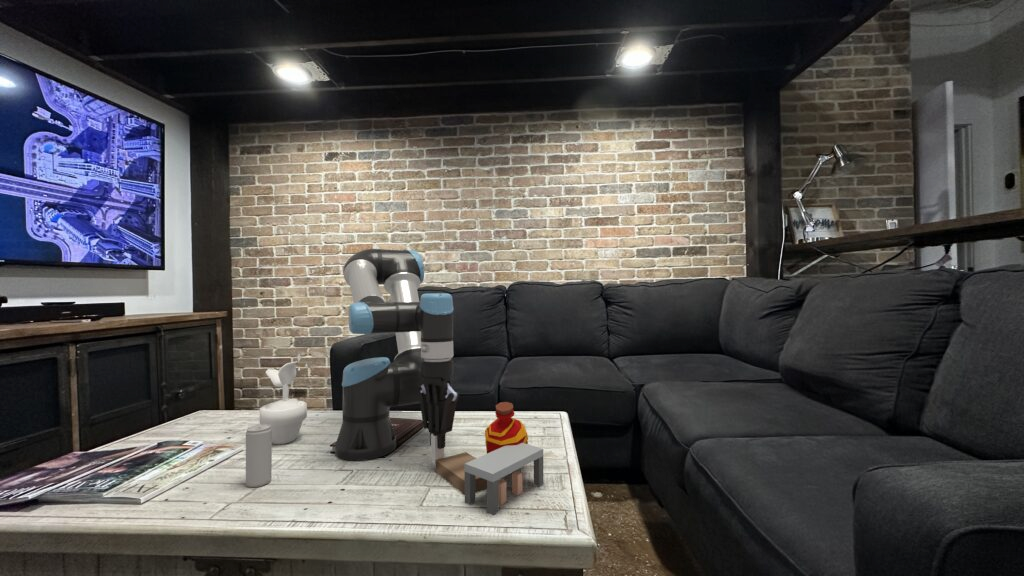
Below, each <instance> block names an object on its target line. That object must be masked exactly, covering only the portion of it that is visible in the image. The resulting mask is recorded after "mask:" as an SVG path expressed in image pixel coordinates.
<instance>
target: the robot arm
mask: <svg viewBox="0 0 1024 576" xmlns="http://www.w3.org/2000/svg"><path fill="white" fill-rule="evenodd" d="M342 271H343V272H342V274H343V278H344V281H345V283H346V284H347V285H348V286H349V287H350V289H349V290H350V292H351V296H352V301H353V303H351V304H350V305H349V307H348V329H349V332H350V333H351V334H354V335H364V336H365V335H367V336H368V335H371V334H373V335H375V334H390V333H391V334H392V333H393V334H394V333H395V338H396V346H397V352H398V353H397V354H396V355H395V357H394V359H393V362H391V360H390V358H388V357H385V356H382V357H372V358H366V359H362V360H357V361H354V362H352V363H349V364H347V365H346V366H345V367H344V369H343V371H342V382H341V386H342V424H341V425H340V429H339V433H338V435H337V438H336V441H335V446H334V449H335V450H334V454H335V456H336V457H337V458H339V459H341V460H345V461H365V460H366V461H367V460H373V459H378V458H382V457H384V456H386V455H389V454H391V453H393V451H395V449H396V448H397V436H396V434H395V430H394V428H393V427H394V426H393V424H392V422H391V418H390V408H392V407H402V406H409V405H418V404H419V405H420V407H419V408H420V412H421V418H422V419H421V420H422V424H423V425H422V426H423V428H424V429H427V430H428V433H429V445H430V453H431V454H430V463H432V464H434V465H436V460H437V459H441V458H445V448H446V434H447V433H450V432H452V431H453V427H454V420H455V414H456V413H455V412H456V407H457V403H458V400H459V398H460V392H459V391H455V390H454V389H453V383H452V381H451V378H452V376H453V375H454V360H453V357H454V355H455V354H454V302H453V296H452V294H450V293H442V292H441V293H439V292H438V293H423V294H422V295H421V296H420V298H419V293H418V289H419V288H420V286H421V284H422V283H423V282H424V278H425V270H424V262H423V259H422V256H421V255H420V253H419V252H418V251H415V250H408V249H387V248H386V249H384V248H383V249H382V248H379V249H378V248H369V249H368V248H367V249H363V250H359V251H358V252H356V253H355V254H354V253H353V255H352V256H350V257H349V258H348V259H347V261H345V264H344V266H343V270H342ZM380 285H383V288H384V290H385V292H386V293H388V295H389V294H390V295H389V297H390V301H388V302H387V301H386V300H385V298H384V295H383V293H382V292H383V291H382V290H381V287H380Z"/></svg>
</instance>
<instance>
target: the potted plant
mask: <svg viewBox="0 0 1024 576" xmlns="http://www.w3.org/2000/svg"><path fill="white" fill-rule="evenodd" d="M295 357H296V359H297V360H296V361H292V362H287V363H285V364H284V365H282V366H281V367H280V368H279V369H274V368H267V370H266V371H265V373H264V374H266V376H267V377H268V378H269V379H270V381H271V383H272V384H273V386H275V387H277V388H281V387H282V388H281V389H282V398H281V399H280V398H279V399H278V400H276V401H273V402H271V403H270V402H269V403H267V404H264V405H262V406H261V407H260V408H259V425H260V424H269V425H271V427H270V428H271V429H272V445H286V444H289V443H292V442H294V441H295V440H296V439H297V438H298V435H299V434H300V430H301V428H302V424H303V422H304V421H305V420H306V419H307V417H308V413H307V412H308V407H307V406H308V403H307V402H305V401H304V400H298V398H289V395H290V393H289V392H290V387H289V385H291V384H293V382H294V381H295V379H296V377H297V374H298V373H297V371H298V372H300V370H302V369H301V367H300V366H298V368H296V364H297V363H300V360H301V359H303V357H302V356H301V354H300V352H298V355H296V356H295ZM304 367H305V369H307V368H308V367H309V365H308V364H307V362H306V364H305V365H304Z"/></svg>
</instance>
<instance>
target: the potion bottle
mask: <svg viewBox="0 0 1024 576" xmlns="http://www.w3.org/2000/svg"><path fill="white" fill-rule="evenodd" d="M495 409H496V410H495V417H496V419H495V420H493V421H492V422H491V423H490V424H489V425H488V427H485V430H484V437H485V439H484V440H485V442H484V443H485V446H486V447H485V448H486V450H485V451H486V454H488V453H490V452H492V451H494V450H497V449H499V448H501V447H503V446H507V445H518V444H520V443H525V444H528V442H529V435H528V432H527V429H526V426H525V424H524V423H523V422H522V421H521V420H519V419H516V418H513V417H514V416H515V411H514V405H513V403H512V402H508V401H502V402H499V403H498V404H496V405H495ZM528 445H529V444H528Z"/></svg>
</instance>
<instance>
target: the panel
mask: <svg viewBox="0 0 1024 576" xmlns="http://www.w3.org/2000/svg"><path fill="white" fill-rule="evenodd" d="M474 459H476V457H475V456H473V455H472V454H470V453H468V452H467V451H465V452H462V453H457V454H454V455H449V456H446V457H445V456H444V458H441V459H437V460H436V464H435V473H436V474H437V475H439V476H440V477H441V478H442V479H444V480H445V481H447V483H449V485H452V486H453V487H454V488H455V489H456V490H457V491H459V492H460V493H461V494H463V495H464V496H465V463H467V462H469V461H472V460H474ZM475 480H476V494H477V493H479V492H483V491H487V480H486V479H483V478H481V477H478V476H475ZM498 480H500V479H498Z"/></svg>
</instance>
